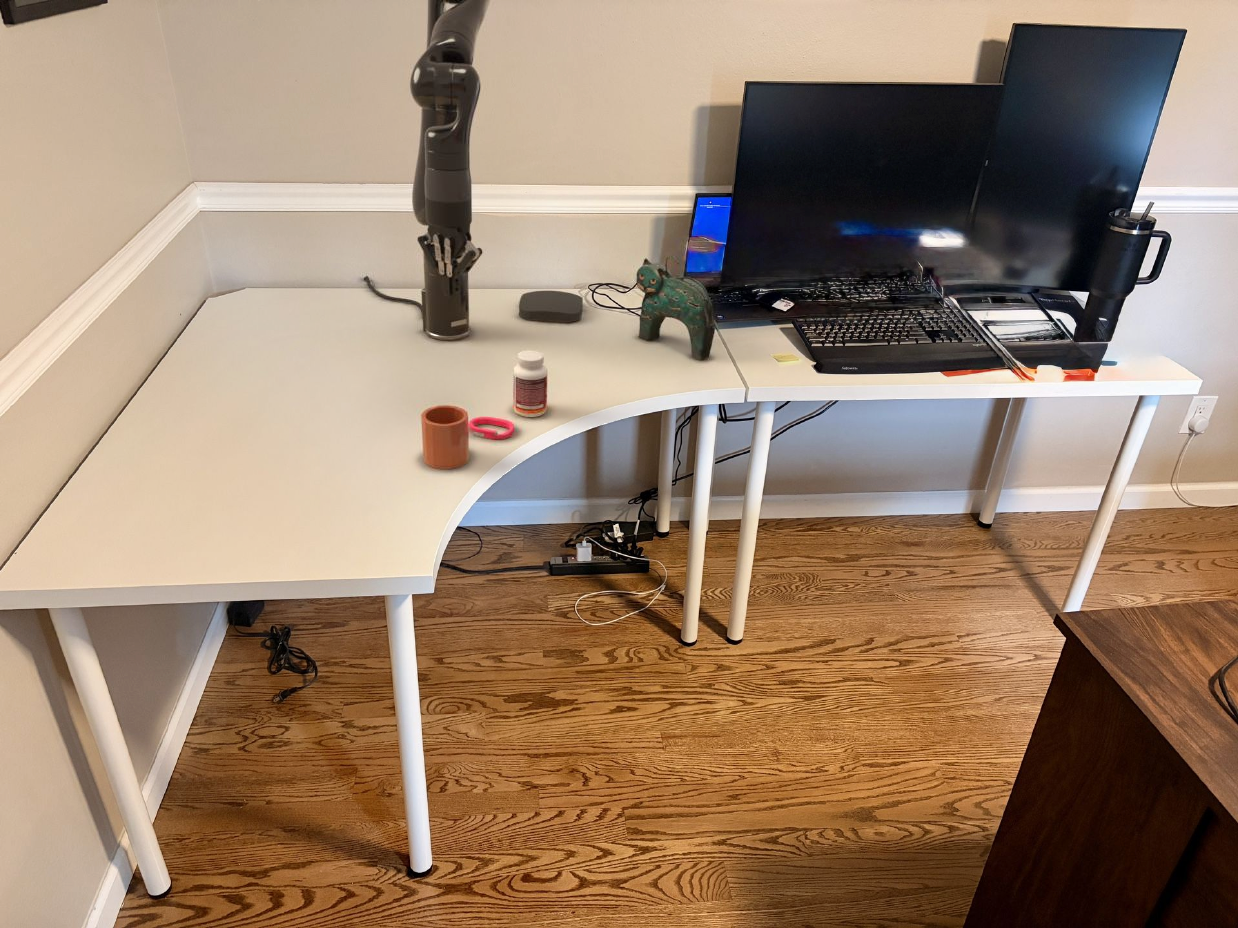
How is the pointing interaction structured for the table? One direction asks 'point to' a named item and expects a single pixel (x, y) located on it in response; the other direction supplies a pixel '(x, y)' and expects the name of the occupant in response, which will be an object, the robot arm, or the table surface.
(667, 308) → the ceramic cat
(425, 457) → the clay pot
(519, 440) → the table surface
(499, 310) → the table surface
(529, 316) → the media streaming box
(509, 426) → the fitness band
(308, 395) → the table surface
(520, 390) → the pill bottle
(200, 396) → the table surface
